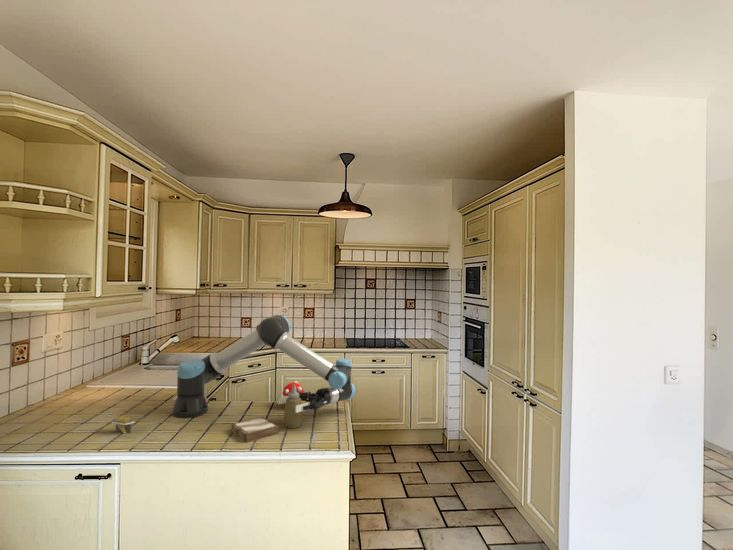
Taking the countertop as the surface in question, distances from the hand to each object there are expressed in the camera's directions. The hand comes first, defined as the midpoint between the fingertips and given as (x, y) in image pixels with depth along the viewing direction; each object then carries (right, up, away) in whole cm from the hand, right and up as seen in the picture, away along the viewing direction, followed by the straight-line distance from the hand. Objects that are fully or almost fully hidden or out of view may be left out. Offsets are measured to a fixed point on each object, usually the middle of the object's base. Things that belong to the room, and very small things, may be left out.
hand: (287, 405), depth 176 cm
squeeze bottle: (+2, -10, +2) cm, 11 cm away
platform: (-66, -9, -9) cm, 67 cm away
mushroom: (-3, -10, +28) cm, 30 cm away
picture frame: (-12, -10, -6) cm, 17 cm away
